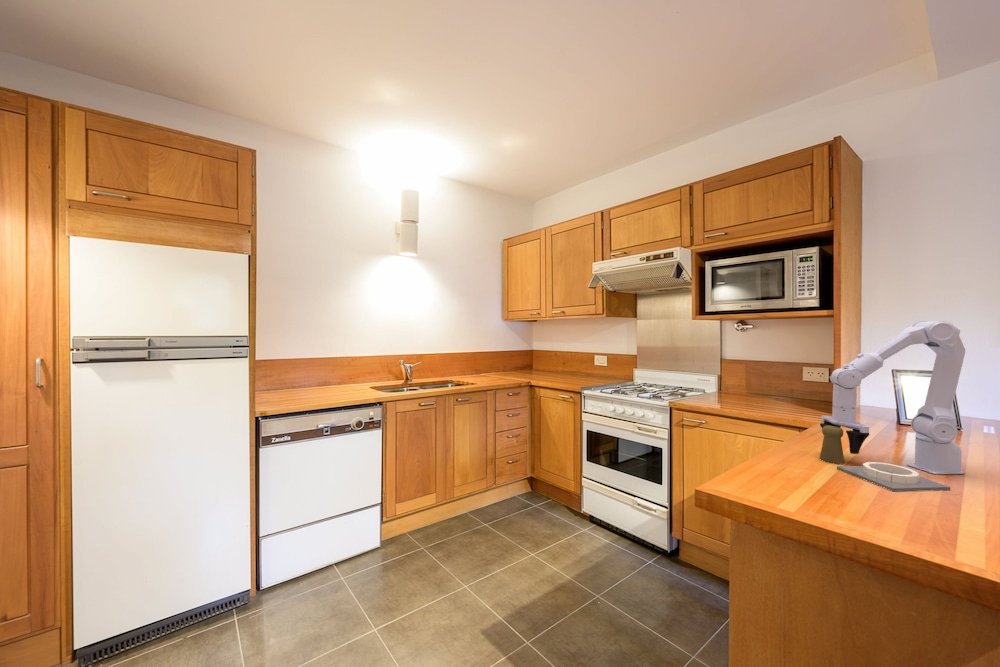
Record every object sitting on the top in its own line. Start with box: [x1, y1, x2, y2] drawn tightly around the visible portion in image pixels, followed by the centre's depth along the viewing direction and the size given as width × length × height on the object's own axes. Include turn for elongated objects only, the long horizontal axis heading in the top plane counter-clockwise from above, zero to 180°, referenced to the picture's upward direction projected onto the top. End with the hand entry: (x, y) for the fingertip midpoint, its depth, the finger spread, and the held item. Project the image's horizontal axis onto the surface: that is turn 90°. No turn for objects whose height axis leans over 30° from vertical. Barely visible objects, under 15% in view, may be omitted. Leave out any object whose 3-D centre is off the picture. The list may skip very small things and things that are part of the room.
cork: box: [819, 425, 845, 465], centre depth 127 cm, size 6×6×11 cm
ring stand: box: [836, 461, 951, 492], centre depth 112 cm, size 16×16×3 cm
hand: (843, 449), depth 127 cm, fingers open, 7 cm apart
